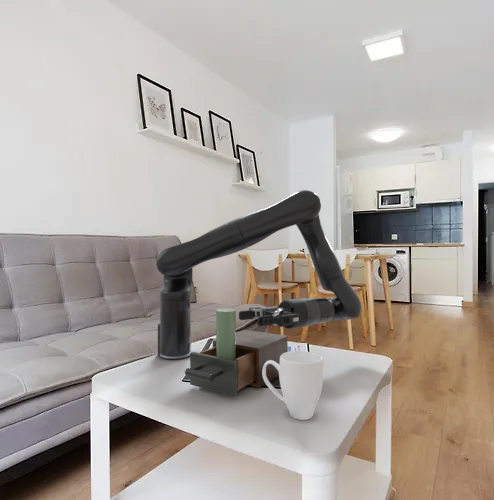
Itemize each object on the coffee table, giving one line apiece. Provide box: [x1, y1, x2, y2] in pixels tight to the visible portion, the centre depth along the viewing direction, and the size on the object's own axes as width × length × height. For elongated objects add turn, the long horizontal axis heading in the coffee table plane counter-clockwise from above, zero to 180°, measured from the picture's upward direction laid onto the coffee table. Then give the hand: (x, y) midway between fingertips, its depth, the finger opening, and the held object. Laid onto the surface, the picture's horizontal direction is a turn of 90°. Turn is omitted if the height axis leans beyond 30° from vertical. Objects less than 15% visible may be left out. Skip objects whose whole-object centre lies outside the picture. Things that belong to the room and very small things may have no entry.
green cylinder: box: [215, 308, 237, 360], centre depth 86 cm, size 5×5×16 cm
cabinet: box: [212, 329, 289, 389], centre depth 95 cm, size 15×14×9 cm
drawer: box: [184, 346, 256, 398], centre depth 85 cm, size 18×13×7 cm
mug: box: [262, 350, 324, 421], centre depth 72 cm, size 12×8×11 cm
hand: (248, 318), depth 89 cm, fingers open, 8 cm apart
